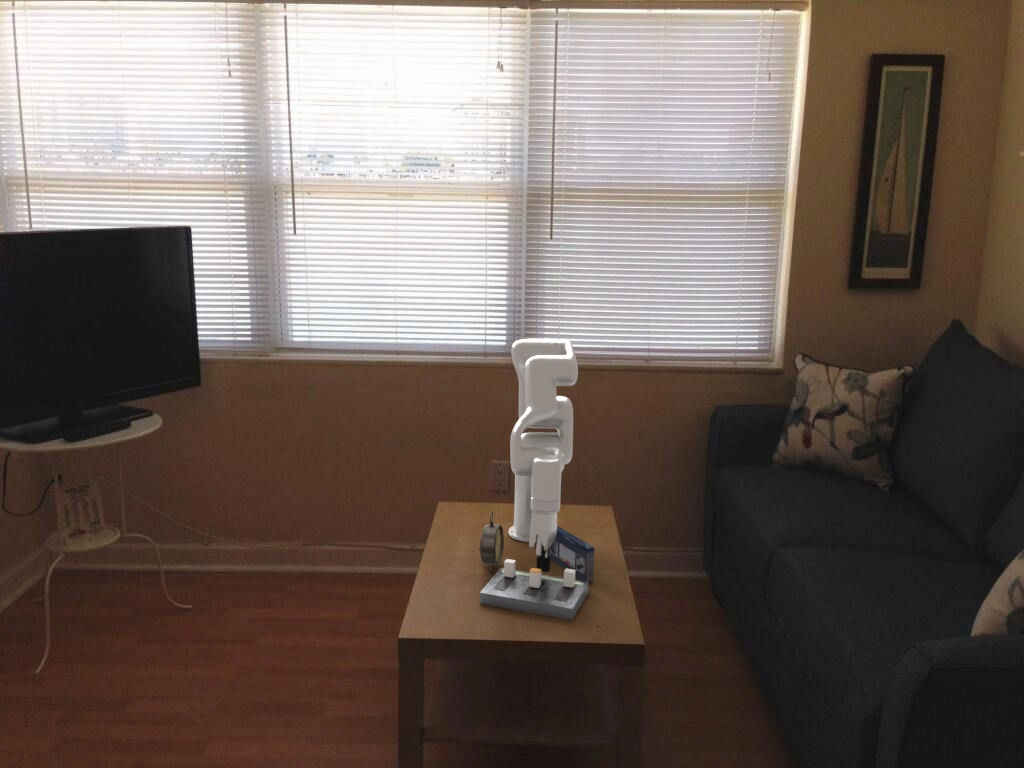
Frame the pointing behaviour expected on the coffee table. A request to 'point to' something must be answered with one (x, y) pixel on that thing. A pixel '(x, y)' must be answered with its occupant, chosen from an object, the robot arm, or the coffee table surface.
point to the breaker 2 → (569, 578)
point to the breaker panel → (534, 594)
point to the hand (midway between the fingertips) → (543, 570)
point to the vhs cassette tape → (573, 554)
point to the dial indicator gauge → (491, 544)
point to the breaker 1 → (509, 568)
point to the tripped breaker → (535, 578)
